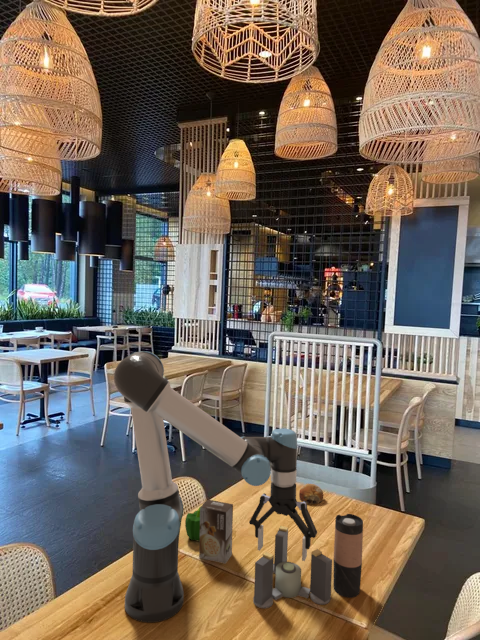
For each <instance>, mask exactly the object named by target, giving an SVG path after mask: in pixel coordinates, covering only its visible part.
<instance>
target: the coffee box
mask: <svg viewBox="0 0 480 640" xmlns="http://www.w3.org/2000/svg"><path fill="white" fill-rule="evenodd" d="M199 508H200V541H198V543H199V550H198V551H199V552H198V553H199V554H198V556H199V557H198V558H199V559H203V560H206V561H212V562H217V563H221V564H224V565H225V564H227V563H228V561H229V560H230V558H231V557H232V555H233V525H234V524H233V520H234V519H233V517H234V516H233V515H234V512H233V511H234V504H232V503H228V502H223V501H217V500H212V499H207V500H205V501H204V502H203V504H202V505H201V506H199Z"/></svg>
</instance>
